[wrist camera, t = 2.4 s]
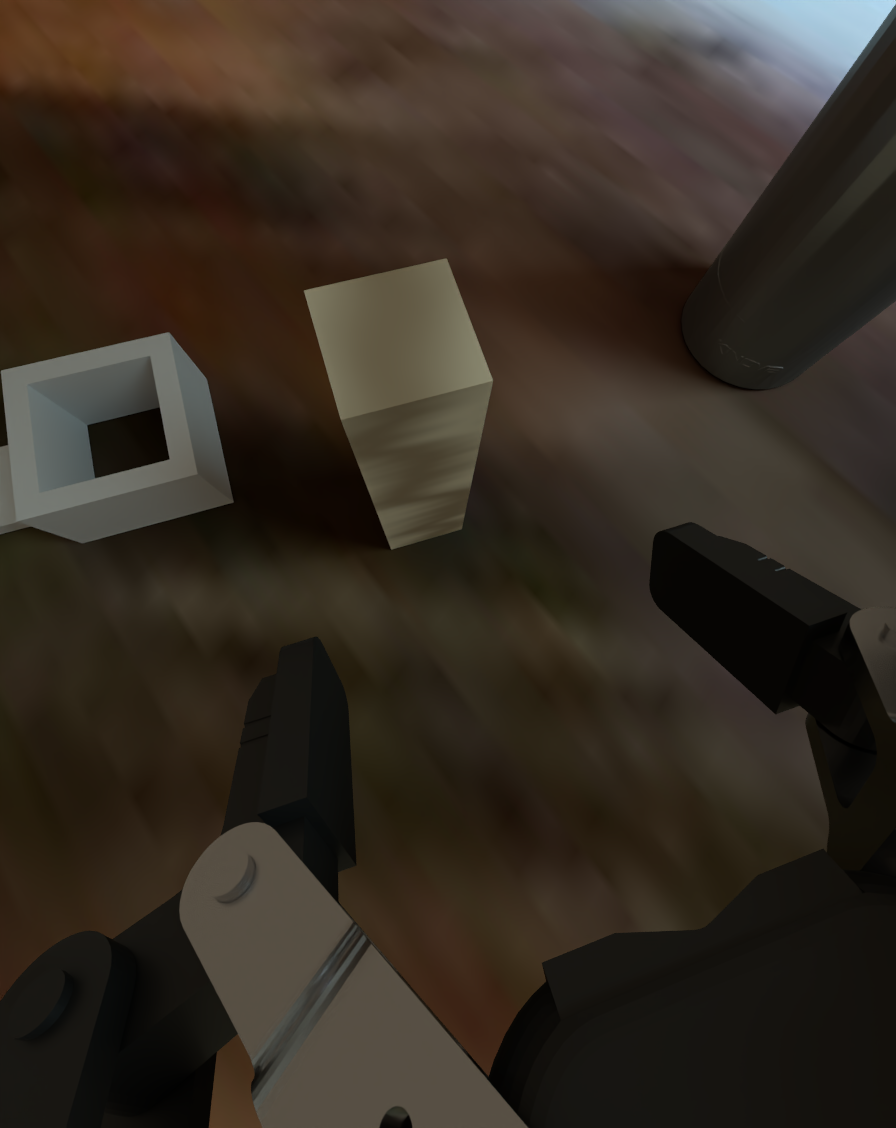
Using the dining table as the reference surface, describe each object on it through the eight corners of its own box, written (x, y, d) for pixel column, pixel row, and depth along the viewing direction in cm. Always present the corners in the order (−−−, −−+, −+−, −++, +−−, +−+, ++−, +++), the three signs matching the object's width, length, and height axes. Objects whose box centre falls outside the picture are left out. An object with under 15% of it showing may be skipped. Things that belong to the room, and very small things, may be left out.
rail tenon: (440, 464, 27) (446, 258, 13) (461, 529, 26) (492, 380, 12) (371, 483, 26) (303, 290, 12) (391, 549, 25) (340, 420, 12)
